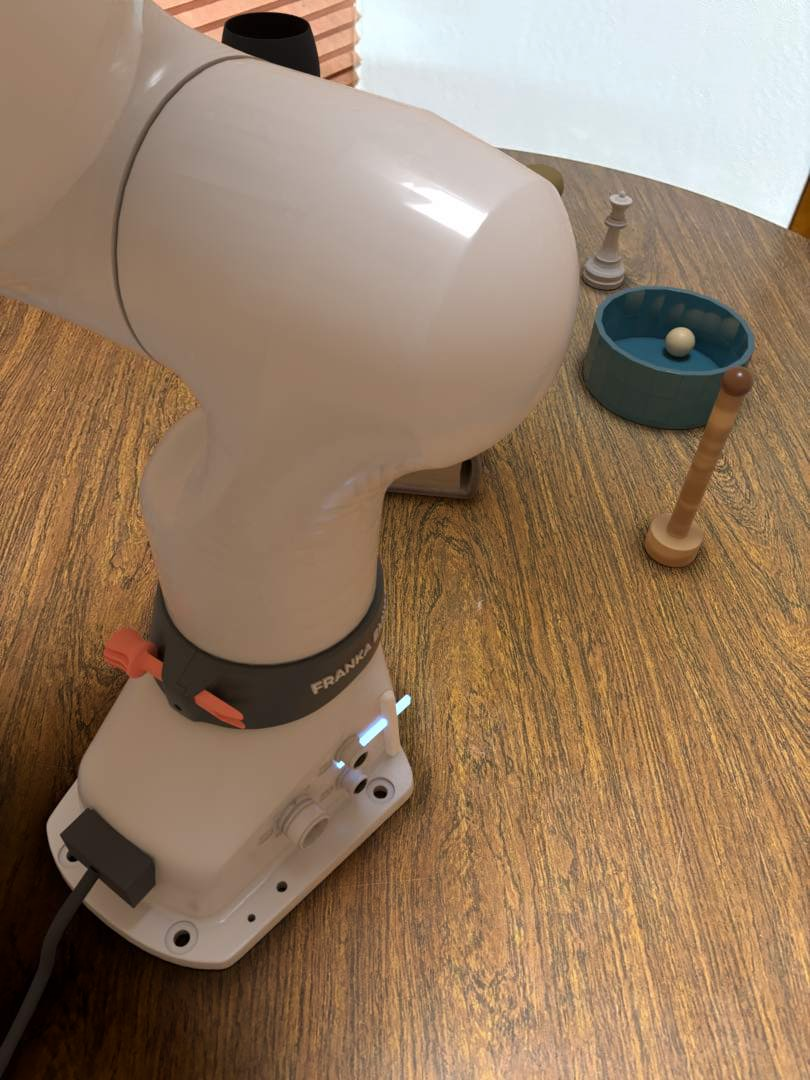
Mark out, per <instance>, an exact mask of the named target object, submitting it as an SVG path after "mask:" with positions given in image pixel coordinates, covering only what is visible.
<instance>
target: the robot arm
mask: <svg viewBox="0 0 810 1080" xmlns="http://www.w3.org/2000/svg"><path fill="white" fill-rule="evenodd" d="M526 166H527V165H525V164H523V163H521V162H519V161H517V160H516V159H515V158H513V157H511V156H510V155H508V154H507V153H505V152H503V151H501V150H500V149H498V148H497V147H495V146H493V145H491V144H490V143H488V142H487V141H485V140H483V139H481V138H480V137H478V136H476V135H474V134H472V133H471V132H469V131H467V130H465V129H463V128H462V127H460V126H458V125H456V124H454V123H453V122H451V121H449V120H447V119H446V118H444V117H442V116H441V115H438V114H437V113H435V112H433V111H431V110H429V109H427V108H422V107H420V106H417V105H413V104H410V103H406V102H404V101H400V100H396V99H393V98H390V97H386V96H382V95H380V94H376V93H373V92H369V91H366V90H363V89H359V88H357V87H352V86H349V85H346V84H343V83H339V82H336V81H333V80H329V79H326V78H323V77H321V76H320V77H316V76H313V75H310V74H306V73H303V72H300V71H296V70H293V69H290V68H286V67H283V66H280V65H276V64H273V63H270V62H268V61H266V60H263V59H260V58H257V57H254V56H251V55H248V54H246V53H244V52H241V51H239V50H236V49H234V48H231V47H229V46H227V45H225V44H223V43H221V41H218V40H216V39H215V38H213V37H211V36H210V35H207V34H205V33H203V32H201V31H200V30H197V29H196V28H193V27H191V26H190V25H188V24H187V23H184V22H183V21H182V20H180V19H178V18H177V17H175V16H174V15H172V14H171V13H169V12H167V11H166V10H165V9H163V8H162V7H161V6H160V5H159V4H158V3H157V2H156V1H154V0H0V295H2V296H3V297H7V298H9V299H12V300H15V301H18V302H21V303H23V304H26V305H28V306H30V307H33V308H36V309H39V310H40V311H43V312H45V313H47V314H50V315H52V316H54V317H57V318H58V319H62V320H63V321H66V322H68V323H70V324H72V325H74V326H77V327H79V328H81V329H83V330H84V331H85V330H86V331H87V332H89V333H92V334H93V335H96V336H98V337H100V338H103V339H104V340H107V341H109V342H110V343H113V344H115V345H117V346H119V347H121V348H124V349H125V350H127V351H129V352H131V353H134V354H135V355H138V356H140V357H142V358H145V359H147V360H149V361H150V362H153V363H155V364H157V365H158V366H161V367H162V368H165V369H167V370H169V371H171V372H172V373H174V375H176V376H177V377H179V379H180V380H181V381H182V382H183V383H184V385H185V386H186V387H187V389H188V390H189V391H190V393H191V394H192V396H193V397H194V398H195V400H196V401H197V403H198V406H196V407H194V408H192V409H191V410H189V411H188V412H186V413H185V414H183V415H182V416H181V417H180V418H177V420H176V421H174V423H172V424H171V425H170V426H169V427H168V429H167V430H166V431H165V432H164V434H163V435H162V436H161V437H160V439H159V441H158V442H157V444H156V446H155V447H154V448H153V450H152V452H151V454H150V456H149V457H148V460H147V461H146V464H145V466H144V469H143V472H142V474H141V478H140V482H139V488H138V489H139V490H138V501H139V508H140V511H141V512H140V513H141V516H142V520H143V524H144V527H145V531H146V535H147V536H146V537H147V539H148V543H149V547H150V551H151V554H152V558H153V562H154V566H155V570H156V573H157V579H158V580H157V585H156V590H155V595H154V600H153V607H152V613H151V620H150V628H149V634H148V635H149V636H148V640H145V639H144V638H143V636H141V635H140V634H139V633H138V632H137V631H136V630H134V629H132V628H131V627H122V628H120V629H119V630H117V631H115V632H114V633H113V634H112V635H111V636H110V638H109V639H108V640H107V642H106V644H105V648H104V649H103V655H104V656H103V660H104V661H106V663H107V664H109V665H110V666H113V667H115V668H117V669H120V670H122V671H124V672H125V674H126V675H127V676H128V679H127V681H126V683H125V684H124V685H123V688H122V689H121V691H120V693H119V694H118V697H117V698H116V700H115V701H114V702H113V705H112V706H111V708H110V710H109V711H108V714H107V715H106V717H105V718H104V720H103V722H102V724H101V725H100V727H99V728H98V730H97V732H96V734H95V735H94V737H93V738H92V740H91V742H90V743H89V746H87V749H86V751H85V752H84V754H83V756H82V758H81V760H80V763H79V766H78V771H77V777H76V779H75V781H74V782H73V783H72V785H71V786H70V788H69V789H68V790H67V792H66V793H65V794H64V796H63V797H62V799H61V800H60V801H59V803H58V804H57V806H56V807H55V808H54V810H53V812H52V813H51V814H50V816H49V818H48V820H47V822H46V835H47V840H48V845H49V849H50V852H51V856H52V857H53V860H54V863H55V865H56V867H57V869H58V871H59V873H60V875H61V877H62V879H63V881H65V883H66V885H67V886H68V887H69V888H70V890H71V893H70V894H69V895H68V897H67V898H66V899H65V901H64V903H63V904H62V905H61V907H60V908H59V910H58V912H57V914H56V915H55V917H54V918H53V921H52V922H51V924H50V926H49V928H48V930H47V932H46V935H45V936H44V939H43V943H42V946H41V950H40V960H39V965H38V968H37V970H36V972H35V975H34V977H33V980H32V982H31V984H30V986H29V989H28V991H27V992H26V995H25V997H24V999H23V1002H22V1004H21V1006H20V1008H19V1010H18V1013H17V1015H16V1017H15V1019H14V1021H13V1022H12V1025H11V1026H10V1029H9V1030H8V1033H7V1035H6V1036H5V1039H4V1041H3V1042H2V1044H1V1046H0V1079H1V1078H2V1076H3V1075H4V1073H5V1070H6V1069H7V1068H8V1065H9V1064H10V1061H11V1059H12V1056H13V1055H14V1052H15V1050H16V1048H17V1046H18V1044H19V1041H20V1040H21V1038H22V1036H23V1034H24V1032H25V1030H26V1028H27V1026H28V1023H30V1020H31V1019H32V1017H33V1015H34V1013H35V1011H36V1009H37V1006H38V1005H39V1002H40V1000H41V998H42V995H43V993H44V992H45V989H46V986H47V984H48V982H49V979H50V977H51V975H52V972H53V968H54V965H55V961H56V960H55V959H56V954H57V947H58V946H59V942H60V940H61V937H62V936H63V934H64V931H65V930H66V928H67V926H68V925H69V923H70V922H71V920H72V918H73V917H74V915H75V914H76V912H77V910H78V909H79V908H80V906H81V904H83V905H84V906H85V907H86V908H87V909H88V910H89V911H90V912H91V913H93V914H94V915H95V916H96V917H97V918H98V919H99V920H100V921H102V922H103V923H104V924H105V925H106V926H107V927H109V929H111V930H112V931H113V932H116V933H117V934H118V935H119V936H120V937H122V938H124V939H125V940H126V941H127V942H128V943H131V944H132V945H134V946H136V947H137V948H139V949H140V950H142V951H144V952H146V953H148V954H150V955H153V956H155V957H157V958H158V959H161V960H163V961H166V962H168V963H171V964H175V965H178V966H181V967H187V968H191V969H198V970H226V969H228V968H231V966H233V965H234V964H235V963H237V962H238V961H239V960H240V959H242V958H243V957H244V956H245V955H246V954H247V953H248V952H249V951H250V950H251V949H253V947H255V945H257V944H258V943H259V941H261V940H263V938H264V937H265V936H266V935H267V934H268V933H270V931H272V929H273V928H274V927H276V926H277V925H278V924H279V923H280V922H281V921H282V920H283V919H284V918H285V917H286V916H287V915H288V914H289V913H291V911H292V910H294V909H295V908H296V906H298V905H299V904H300V903H301V902H302V901H303V900H304V899H305V898H306V897H307V896H308V895H309V894H310V893H311V892H313V890H315V888H317V887H318V886H319V885H320V884H321V883H322V882H323V881H324V880H325V879H326V878H327V877H328V876H329V875H330V874H331V873H333V871H334V870H335V869H337V867H339V866H340V865H341V864H342V862H344V861H345V860H346V859H347V858H348V857H350V855H351V854H353V853H354V852H355V851H356V850H357V849H358V848H359V847H360V846H361V845H362V844H363V843H364V842H365V841H366V840H368V838H369V837H371V835H373V833H374V832H376V831H377V830H378V829H379V828H380V827H381V826H382V825H383V824H384V823H385V822H386V821H387V820H388V819H389V818H390V817H391V816H392V815H394V813H396V812H397V811H398V810H399V809H400V808H401V807H402V806H403V805H404V804H405V803H406V802H407V801H408V800H409V799H410V798H411V796H412V794H413V792H414V788H415V782H414V775H413V774H414V773H413V770H412V768H411V765H410V762H409V760H408V757H407V755H406V753H405V751H404V749H403V747H402V745H401V739H400V738H401V737H400V730H399V729H400V728H399V714H400V713H402V712H403V711H404V710H405V709H406V708H407V707H408V706H410V704H411V696H410V695H408V694H405V695H404V696H403V697H402V698H401V699H400V700H399V701H398V702H397V699H396V696H395V691H394V687H393V684H392V680H391V676H390V673H389V668H388V665H387V661H386V657H385V652H384V649H383V646H382V643H381V640H382V637H383V636H382V635H383V633H384V624H385V617H386V611H387V591H386V590H385V575H384V570H383V569H384V568H383V565H382V562H381V559H380V555H379V554H378V552H379V551H378V550H379V539H380V538H379V537H380V530H381V529H380V528H381V521H382V520H381V519H382V512H383V505H384V499H385V494H386V490H387V488H388V487H389V485H390V484H391V483H392V482H393V481H394V480H396V479H397V478H399V477H401V476H403V475H405V474H409V473H412V472H415V471H419V470H426V469H437V468H445V467H449V466H452V465H455V464H458V463H460V462H463V461H465V460H468V459H470V458H472V457H474V456H476V455H478V454H479V453H481V452H482V453H483V452H485V451H487V450H488V449H490V448H492V447H493V446H494V445H496V444H497V443H499V442H500V441H502V440H503V439H504V438H506V437H507V436H509V435H510V434H511V433H512V432H514V430H516V428H518V426H520V425H521V424H522V423H523V422H524V421H525V420H526V419H527V418H528V417H529V416H530V415H531V413H532V412H533V411H534V410H535V408H536V407H537V406H538V405H539V403H540V402H541V401H542V400H543V398H544V397H545V396H546V394H547V393H548V391H549V389H550V388H551V386H552V385H553V384H554V381H555V379H556V378H557V376H558V374H559V372H560V370H561V367H562V365H563V363H564V361H565V358H566V356H567V354H568V351H569V347H570V345H571V342H572V339H573V335H574V332H575V326H576V322H577V318H578V311H579V302H580V291H581V290H580V288H581V287H580V283H581V282H580V262H579V255H578V254H579V253H578V249H577V242H576V238H575V233H574V231H573V227H572V224H571V220H570V216H569V213H568V210H567V209H566V207H565V204H564V201H563V199H562V196H561V197H560V195H559V193H558V191H557V189H556V188H555V187H554V186H553V184H552V183H551V182H549V181H548V180H547V179H545V178H543V177H542V176H540V175H539V174H537V173H535V172H534V171H532V170H531V169H529V168H527V167H526ZM377 792H383V793H384V794H385V795H386V796H385V797H383V798H378V797H376V796H375V794H376V793H377ZM72 857H73V858H74V859H75V860H76V861H70V860H71V858H72ZM282 888H284V889H285V890H284V891H279V890H280V889H282ZM183 935H188V936H189V941H188V942H187V943H186V944H185V945H183V946H178V945H176V942H177V940H178V939H179V937H181V936H183Z"/></svg>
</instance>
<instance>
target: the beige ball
mask: <svg viewBox="0 0 810 1080" xmlns="http://www.w3.org/2000/svg"><path fill="white" fill-rule="evenodd" d="M694 345H695V337H694V335H693V333H692V332H691V331H690V330H689V329H687V328H684V327H678V328H675V329H673V330H671V331H670V332H669V333H668V335H667V336H666V339H665V347H666V350H667V351H668V352H669V353H670V354H671V355H673V356H676V357H682V356H685V355H687V354H689V353H690V352H691V351H692V349H693V348H694Z"/></svg>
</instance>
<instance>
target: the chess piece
mask: <svg viewBox="0 0 810 1080" xmlns="http://www.w3.org/2000/svg"><path fill="white" fill-rule="evenodd" d="M626 193H627V192H626V191H625V190H620V191H619V193H618V194H617V193H616V194H612V195H610V197H609V199H608V201H609V203H610V206H611V212H610V213H609V215H607V216H606V217H604V220H603V221H604V222H603V223H604V225H605V226H606V227H607V230H606V235H605V237H604V240H603V243H602V244H601V246H600V249H597V250H596V251H595V252H594V256H592V257H590V258H589V259H588V260H587V261H586V262H585V265H584V269H583V270H582V271H583V272H582V279H583V281H584V282H585V283H586V284H587V285H588V286H590V287H592V288H595V289H598V290H603V291H604V290H607V291H609V290H614V289H618V288H619V287H621V286H622V285H623V282H624V278H625V277H624V275H625V272H626V268H625V265H624V264H623V262H622V261H621V259H622V254H621V253H620V252H619V239H620V232H621V230H624V229H626V228H627V226H628V220H627V218H626V215H625V212H626V211H627V210H628V208H629V207H631V206H632V205H633V199H632V198H631V197H630V196H628V195H626Z"/></svg>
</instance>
